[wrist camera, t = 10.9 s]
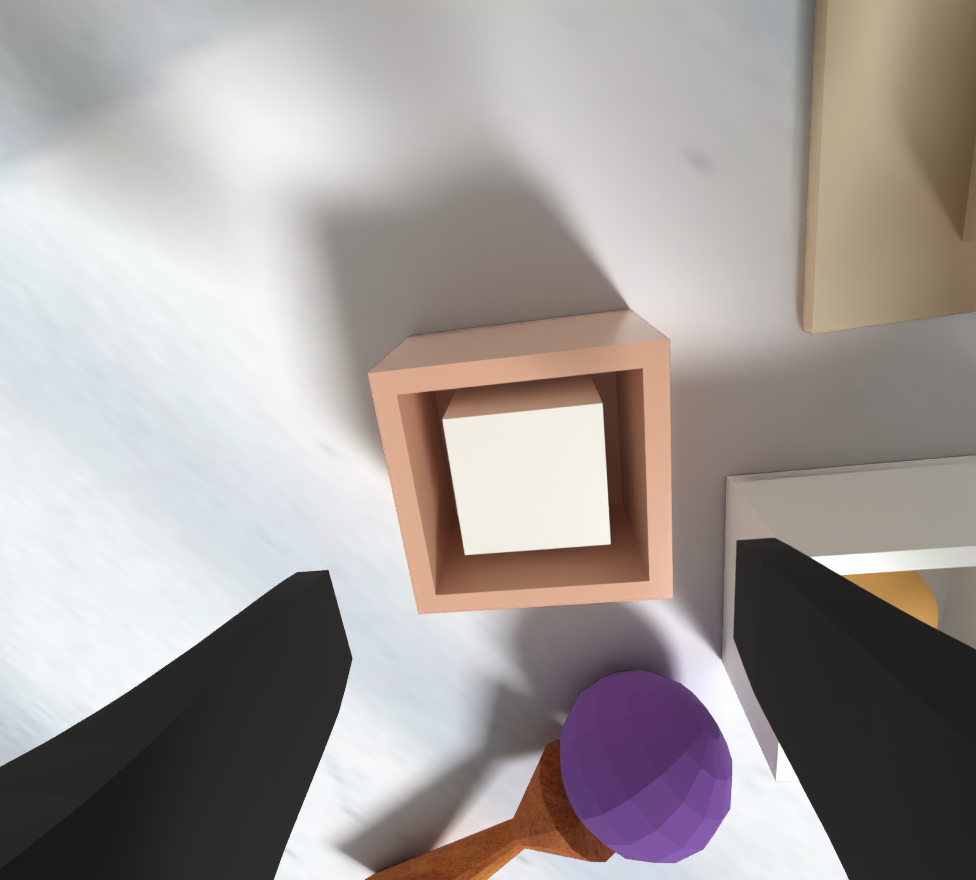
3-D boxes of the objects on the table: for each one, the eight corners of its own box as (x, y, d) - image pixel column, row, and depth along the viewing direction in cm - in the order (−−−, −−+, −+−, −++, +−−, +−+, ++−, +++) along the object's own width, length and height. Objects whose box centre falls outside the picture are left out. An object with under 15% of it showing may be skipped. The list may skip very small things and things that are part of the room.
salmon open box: (630, 308, 17) (669, 338, 12) (638, 509, 19) (672, 598, 15) (409, 335, 18) (367, 373, 13) (443, 525, 20) (418, 614, 15)
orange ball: (902, 532, 18) (975, 591, 15) (890, 610, 20) (955, 679, 17) (802, 539, 19) (854, 598, 16) (796, 615, 20) (843, 684, 17)
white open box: (981, 454, 18) (1142, 534, 13) (942, 650, 21) (1063, 773, 16) (726, 476, 19) (792, 558, 14) (721, 661, 21) (775, 781, 17)
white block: (586, 365, 17) (602, 403, 13) (594, 481, 18) (610, 544, 15) (460, 379, 18) (442, 419, 14) (477, 491, 19) (464, 555, 15)
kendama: (301, 943, 24) (643, 729, 16) (365, 816, 29) (643, 611, 21) (401, 1036, 24) (791, 867, 16) (446, 892, 29) (753, 715, 22)
